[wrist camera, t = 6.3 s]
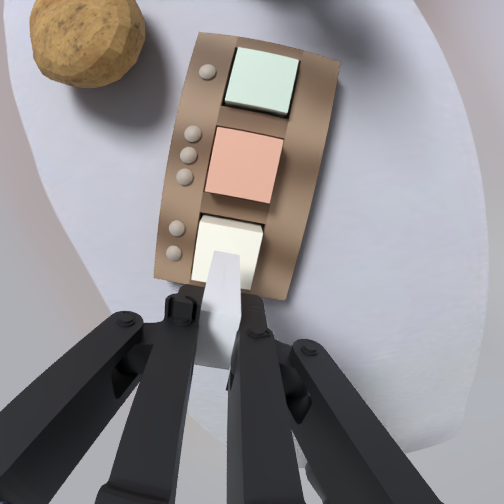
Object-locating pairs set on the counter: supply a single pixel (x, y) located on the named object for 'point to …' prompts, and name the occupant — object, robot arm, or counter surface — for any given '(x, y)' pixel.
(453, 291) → the counter surface
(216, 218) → the cream button
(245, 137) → the terracotta button
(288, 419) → the robot arm
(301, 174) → the console
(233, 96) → the sage button
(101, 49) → the potato
